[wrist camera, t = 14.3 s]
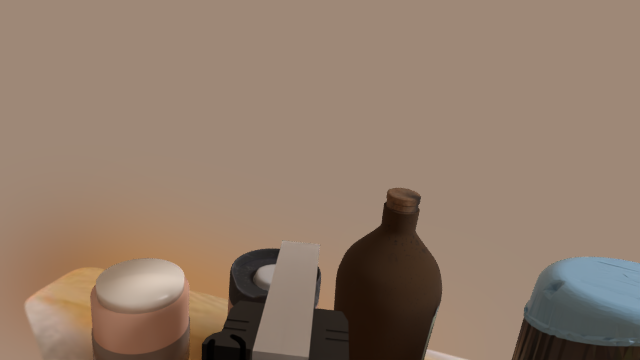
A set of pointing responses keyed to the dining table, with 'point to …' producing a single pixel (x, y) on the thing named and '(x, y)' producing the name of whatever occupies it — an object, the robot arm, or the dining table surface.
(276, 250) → the travel mug
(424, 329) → the olive oil
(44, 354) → the dining table surface
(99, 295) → the terracotta canister
